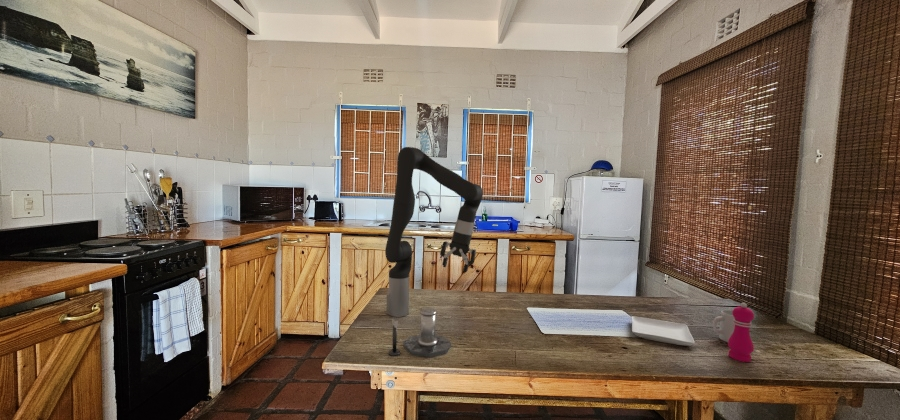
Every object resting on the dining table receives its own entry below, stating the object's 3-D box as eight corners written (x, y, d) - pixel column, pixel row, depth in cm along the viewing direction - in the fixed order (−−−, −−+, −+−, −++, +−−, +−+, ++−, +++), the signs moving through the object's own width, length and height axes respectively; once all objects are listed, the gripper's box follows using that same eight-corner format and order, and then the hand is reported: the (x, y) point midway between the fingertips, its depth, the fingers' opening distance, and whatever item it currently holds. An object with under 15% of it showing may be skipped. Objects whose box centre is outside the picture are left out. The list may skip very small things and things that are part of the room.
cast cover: (415, 345, 131) (416, 312, 130) (422, 337, 137) (422, 306, 137) (433, 347, 129) (434, 315, 128) (439, 340, 135) (440, 309, 135)
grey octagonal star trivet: (398, 352, 128) (398, 348, 128) (415, 335, 143) (415, 331, 143) (441, 359, 123) (442, 355, 123) (454, 341, 139) (454, 337, 138)
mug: (735, 336, 150) (737, 310, 149) (751, 345, 141) (753, 317, 141) (705, 335, 150) (707, 309, 150) (719, 344, 142) (721, 316, 141)
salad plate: (686, 331, 155) (686, 323, 155) (695, 351, 136) (695, 342, 135) (630, 322, 164) (630, 314, 164) (631, 339, 145) (632, 331, 144)
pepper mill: (721, 353, 134) (725, 299, 132) (740, 353, 134) (744, 299, 133) (739, 362, 126) (743, 306, 125) (758, 362, 127) (762, 306, 126)
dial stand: (390, 357, 124) (391, 322, 123) (386, 352, 128) (387, 318, 127) (412, 352, 128) (413, 318, 127) (408, 348, 132) (408, 314, 131)
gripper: (444, 227, 147) (435, 266, 148) (477, 237, 143) (468, 276, 144) (449, 226, 154) (441, 263, 155) (481, 235, 150) (472, 273, 151)
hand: (454, 269), depth 150 cm, fingers open, 8 cm apart
